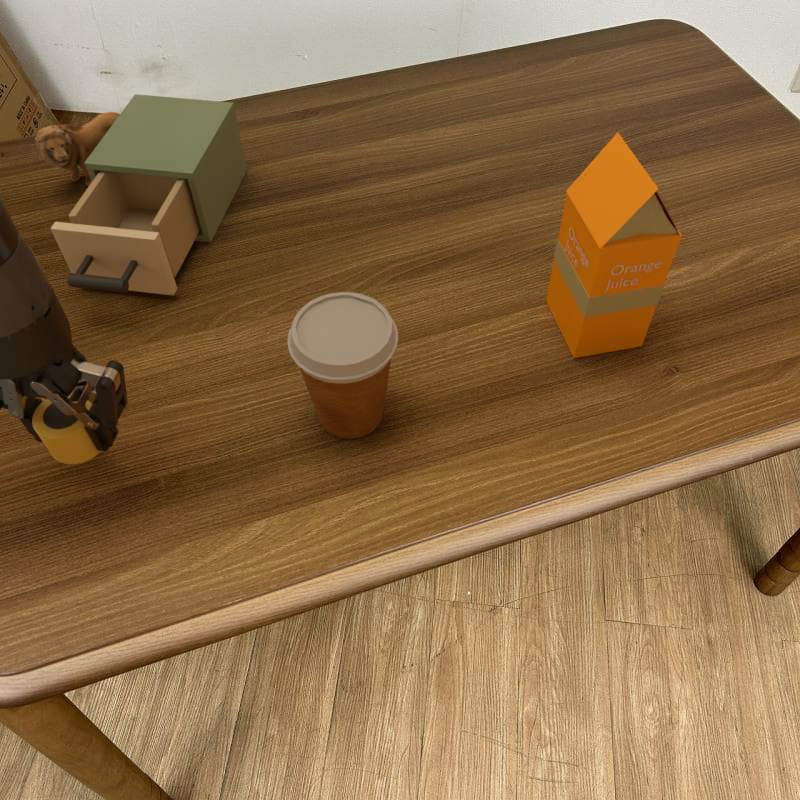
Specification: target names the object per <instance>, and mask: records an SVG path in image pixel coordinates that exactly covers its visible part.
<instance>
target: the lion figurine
mask: <svg viewBox="0 0 800 800" xmlns="http://www.w3.org/2000/svg"><path fill="white" fill-rule="evenodd" d="M120 114H121V113H119V112H115V111H108V112H101V113H99V114H98V115H96V116H95V117H94V118H93V119H91V120H90V121H88V122H87V123H85V124H82V125H81V126H74V125H72V124H69V123H65V124H56V123H53V124H49V125H47V124H46V125H45V126H44V127H41V128H39V130H38V131H37V133H36V136H35V138H34V140H35V146H36V147H35V148H36V151H37V152H38V153H39V154H40V156H41V157H42V159H43V161H44V162H45V163H46V164H47V165H48V166H50V167H53V168H55V167H57V168H58V167H59V168H61V169H63V170H70V172H71V173H72V174H70V177H69V180H70V182H73V183H75V182H77V181H79V180H80V179H81V178H80V176H81V174H80V172H81V171H80V169H79V167H80V168H81V170H82V171H83V173H84V175H85V179H86V180H85V182H84V184H85V185H86V187H89V186H90V184H91V183H92V182H91V179H90V176H89V174H88V171H87V169H86V167H85V164H84V163H85V161H86V160H87V159H88V157H89V156H90V154H91V153H92V152H93V150H94V149H95V148H96V146H97V145H98V144H99V142H100V141H101V140H102V138H103V137H104V136H105V134H106V133H107V131H108V130H109V129H110V127H111V126H112V125H113V123H114V122H115V121H116V119H117V118H118V117H119V115H120Z"/></svg>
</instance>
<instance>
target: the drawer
mask: <svg viewBox="0 0 800 800" xmlns="http://www.w3.org/2000/svg"><path fill="white" fill-rule="evenodd" d="M68 218H69V221H70V222H65V221H64V222H63V221H55V222H54V223H53V224H52V226H51V227H50V231H51V234H52V235H53V238H54V239H55V242H56V244H57V246H58V248H59V250H60V252H61V254H62V256H63V258H64V260H65V262H66V265H67V267H68V269H69V271H70V273H69V274H68V275H67V281H66V282H67V285H68V286H69V287H71V288H80V289H89V290H97V291H107V292H112V293H113V292H114V293H124V294H125V293H127V292H128V291H131V292H140V293H147V294H156V295H165V296H175V294H176V292H177V291H178V286H177V283H176V280H175V278H176V277H177V274H178V273H179V271H180V269H181V267H182V265H183V263H184V261H185V260H186V258H187V255H188V253H189V252H190V250H191V248H192V246H193V244H194V242H195V241H194V240H195V239H196V237H197V235H198V233H199V231H200V229H201V226H200V222H199V219H198V215H197V211H196V208H195V204H194V201H193V197H192V193H191V190H190V186H189V182H188V179H183V178H173V177H163V176H152V175H142V174H132V173H122V172H111V171H101V170H100V172H99V173H98V174H97V176H96V177H95V179H94V180H93V181H92V183H91V184H90V186H87V188H86V190H85V191H84V193H83V194H82V195H81V197H80V198H79V200H78V201H77V203H76V204H75V205H74V207H73V208H72V209H71V211H70V212H69V214H68Z"/></svg>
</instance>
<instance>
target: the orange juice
mask: <svg viewBox="0 0 800 800" xmlns="http://www.w3.org/2000/svg"><path fill="white" fill-rule="evenodd" d="M658 190H659V187H658V186H657V185H656V183H655V182H654V180H653V179H652V177H651V176H650V175H649V174H648V172H647V170H645V168H644V167H643V165H642V164H641V162H640V161H639V159H638V158H637V157H636V155H635V153H634V152H633V151H632V150H631V148H630V147H629V146H628V144H627V142H626V141H625V140H624V138H623V137H622V136H621V134H620V133H619V132H616V134H614V136H613V137H612V138H611V139H610V140H609V141H608V143H606V145H605V146H604V147H603V148H602V150H600V152H599V153H598V154H597V155H596V156H595V157H594V158H593V160H592V161H591V162H590V163H589V164H588V165H587V167H586V168H584V170H583V171H582V172H581V173H580V175H579V176H578V177H577V178H576V179H575V180H574V181H573V182H572V183H571V185H570V186H569V187H568V188H567V189H566V191H565V192H566V195H565V201H564V206H563V211H562V215H561V222H560V226H559V231H558V235H557V236H558V237H557V239H556V245H555V249H554V255H553V262H552V267H551V271H550V277H549V281H548V287H547V293H546V296H545V302H546V305H547V306H548V308H549V310H550V312H551V315H552V317H553V319H554V320H555V323H556V324H557V327H558V329H559V331H560V333H561V335H562V337H563V339H564V341H565V344H566V346H567V347H568V349H569V352H570V353H571V356H572V358H573V359H578V358H583V357H590V356H594V355H600V354H606V353H607V354H608V353H611V352H617V351H622V350H628V349H635V348H640V347H643V345H644V341H645V340H646V336H647V333H648V330H649V327H650V326H651V322H652V319H653V317H654V314H655V312H656V309H657V306H658V304H659V302H660V299H661V296H662V294H663V290H664V288H665V283H666V281H667V278H668V275H669V272H670V270H671V266H672V264H673V261H674V257H675V256H676V253H677V250H678V247H679V245H680V242H681V240H682V238H683V237H682V234H681V231H680V230H679V229H678V228H677V226H676V224H675V222H674V220H673V219H672V216H671V215H670V213H669V211H668V209H667V207H666V204H665V203H664V201H663V198H661V196H660V193H659V192H658Z"/></svg>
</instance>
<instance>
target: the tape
mask: <svg viewBox="0 0 800 800" xmlns="http://www.w3.org/2000/svg"><path fill="white" fill-rule="evenodd" d="M72 393H73V392H72ZM72 393H71V394H72ZM71 394H70V395H69V396H68V398H70V396H71ZM42 401H43V402H42V403H41V404H40V405H39V406H38V407H37V408H36V410H35V412H34V414H33V418H32V425H33V428H34V430H35V431H36V433H37V434H38V436H39V437H40V439H41V440H42V442H41V443H42V444H44V446H45V447H46V450H47V451H48V452H49V454H50V455H51V456H52V457H53V459H54V460H56V461H57V462H59V463H61V464H65V465H78V464H82V463H85V462H88V461H90V460H92V459H94V458H96V457H97V456H98V455H99V454H100V453H101V452H102V451H98V450H97V449H96V447H95V445H94V443H93V442H92V440H91V438H90V436H89V435H88V433H87V431H86V430H85V425H84V424H83V423H82V422H81V421H80V420H78V419H77V418H76V417H75V416H74V415H73V414H72V415H65V414H64V413H63V412H62V411H61V410H60V409H58V408H57V407H56V406H55V405H54V404H53V403H52V402H51V401H50V400H49V399H46V398H44V400H42ZM85 406H86V408H87V409H88V410H89V409H90V407H91V406H92V404H91V403H90V402H89V401H88V400H87V402H86V405H85Z"/></svg>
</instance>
